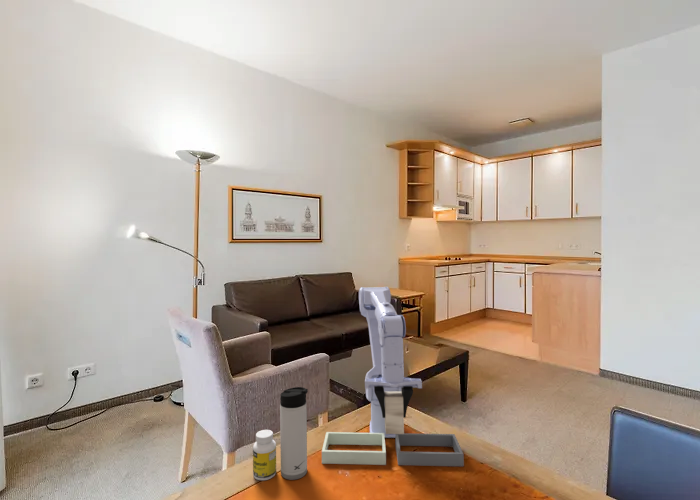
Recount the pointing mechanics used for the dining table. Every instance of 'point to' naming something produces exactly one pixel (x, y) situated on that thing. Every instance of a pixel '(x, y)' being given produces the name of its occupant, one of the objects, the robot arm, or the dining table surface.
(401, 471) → the dining table surface
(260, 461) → the supplement bottle
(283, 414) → the travel mug
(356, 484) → the dining table surface
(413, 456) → the bin
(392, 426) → the ash block
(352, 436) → the bin
